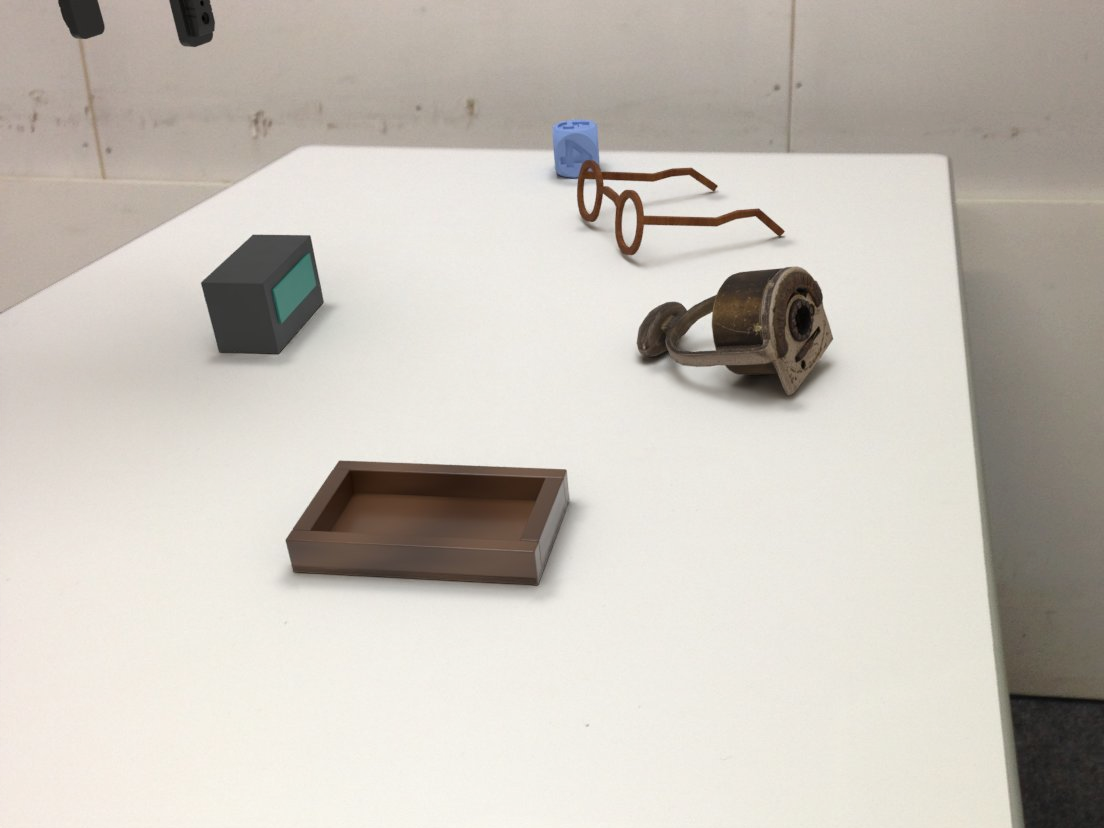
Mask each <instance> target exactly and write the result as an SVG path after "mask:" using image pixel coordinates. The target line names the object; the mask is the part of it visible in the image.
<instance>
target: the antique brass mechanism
mask: <svg viewBox="0 0 1104 828" xmlns="http://www.w3.org/2000/svg"><path fill="white" fill-rule="evenodd" d="M717 290H718V291H717V292H716V294H715V295H713V296H710V297H708V298H706V299H703V300H702V301H700V302H699V303H697V304H695V305H693V306H691V307H690V308H689V309H687V308H686V307H685V306H684V305H683V303H681V302H678V301H666V302H664V303H661V304H659V305H657V306H656V307H654V308H653V309H651V310H650V311H649V312H648V313H647V315H646V316H645V317H644V319H643V321H642V322H641V323H640V325H639V327H638V330H637V337H636V347H637V350H638V352H639V353H640V355H643V356H645V357H651V358H652V357H657V356H658V355H659V356H660V355H661V354H663V353H665V352H667V351H668V353H669V356H670V358H671V359H672V360H673V361H674V362H676V363H677V364H679V365H681V366H685V367H695V368H703V367H705V368H706V367H707V368H708V367H716V366H725V367H726V368H727V370H729V372H731V373H733V374H735V375H738V376H739V375H740V376H741V375H742V376H759V375H761V376H762V375H778V379H779V381H780V383H781V386H782V388H783V390H784V392H785V394H786V395H787V396H792V395H793V394H794V393H795V392H796V391H797V390H798V389H799V387H800V386H801V385H802V383H803V382H804V381H805V379H806V378H807V376H808V375H809V374H810V372H811V371H812V370H813V368H814V367H815V366H816V364H817V363H818V362H819V360H820V359H821V358H822V356H823V355H824V354H825V352H826V351H827V350H828V348H829V347H830V345H831V343H832V342H833V341H834V336H833V332H832V329H831V325H830V323H829V319H828V316H827V314H826V311H825V307H824V302H823V300H824V296H823V291H822V288H821V286H820V284H819V283H818V281H817V280H816V279H814V277H813V276H812V275H811V273H809V272H808V271H807V270H806V269H805V268H803V267H800V266H786V267H782V268H780V267H779V268H768V269H758V270H748V271H740V272H736V273H733V274H730V275H729V276H728V277H727V278H726V279H725V280H724V281H723V283H722V284H721V285H720V287H719V289H717ZM711 313H712V314H711ZM710 314H711V332H712V338H713V339H712V340H713V343H714V348H715V350H697V351H692V350H691V351H690V350H683V349H682V350H681V349H677V345H678V342H679V341H680V340H681V339H682V338H683V337H684V336H685V335H686V334H687V333H688V331H690V329H691V328H692V326H694V324H695V323H697V322H698V321H699V320H700V319H702V318H704V317H706V316H708V315H710Z"/></svg>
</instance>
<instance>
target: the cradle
mask: <svg viewBox="0 0 1104 828" xmlns="http://www.w3.org/2000/svg"><path fill="white" fill-rule="evenodd" d="M569 503H570V488H569V478H568V470H567V469H566V468H543V467H519V466H518V467H517V466H493V465H470V464H469V465H467V464H445V463H443V464H440V463H418V462H417V463H416V462H414V463H413V462H393V461H392V462H388V461H368V460H367V461H364V460H338V461H337V463H336V464H335V466H334V467H333V469H332V470H331V471H330V473H329V474H328V476H327V477H326V479H325V480H324V481H323V483H322V484H321V486H320V488H319V489H318V491H317V492H316V493H315V495H314V496H313V498H312V499H311V501H310V502H309V504H307V507H306V508H305V510H304V511H303V512H302V513H301V515H300V517H299V518H298V520H297V521H296V523H295V525H294V526H293V527H292V530H291V531H290V532H289V533H288V535H287V536H286V538H285V544H286V548H287V553H288V556H289V561H290V564H291V565H290V566H291V570H292V572H293V573H308V574H328V575H345V576H364V577H365V576H366V577H382V578H400V579H401V578H403V579H420V580H421V579H422V580H438V581H439V580H441V581H458V582H459V581H460V582H475V583H476V582H477V583H478V582H479V583H494V584H495V583H497V584H518V585H536V586H538V585H539V584H540V581H541V577H542V575H543V573H544V570H545V567H546V566H547V565H546V564H547V562H548V559H549V556H550V554H551V551H552V548H553V546H554V543H555V540H556V537H557V535H558V532H559V530H560V527H561V525H562V522H563V519H564V516H565V514H566V511H567V509H568V506H569Z"/></svg>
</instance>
